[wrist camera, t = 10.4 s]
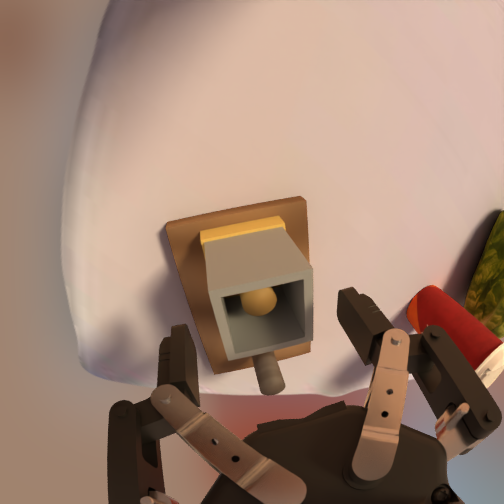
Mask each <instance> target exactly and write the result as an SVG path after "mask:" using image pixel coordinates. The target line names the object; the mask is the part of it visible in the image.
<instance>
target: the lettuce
mask: <svg viewBox="0 0 504 504" xmlns="http://www.w3.org/2000/svg"><path fill="white" fill-rule="evenodd" d="M464 308H465V309H466V310H467V311H468V312H469V313H471V314H472V315H473V316H474V317H475V318H476V319H478V320H479V321H480V322H481V323H482V324H483V325H484V326H485V327H487V328H488V329H489V330H490V331H491V332H492V333H493V334H494V335H495V336H497V337H498V338H499V339H501V338H503V337H504V211H502V212H501V213H500V214H499V216H498V218H497V221H496V223H495V225H494V227H493V229H492V231H491V233H490V236H489V238H488V240H487V243H486V246H485V249H484V251H483V254H482V257H481V259H480V261H479V264H478V266H477V269H476V271H475V273H474V276H473V278H472V280H471V283H470V286H469V289H468V292H467V295H466V299H465V304H464Z"/></svg>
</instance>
